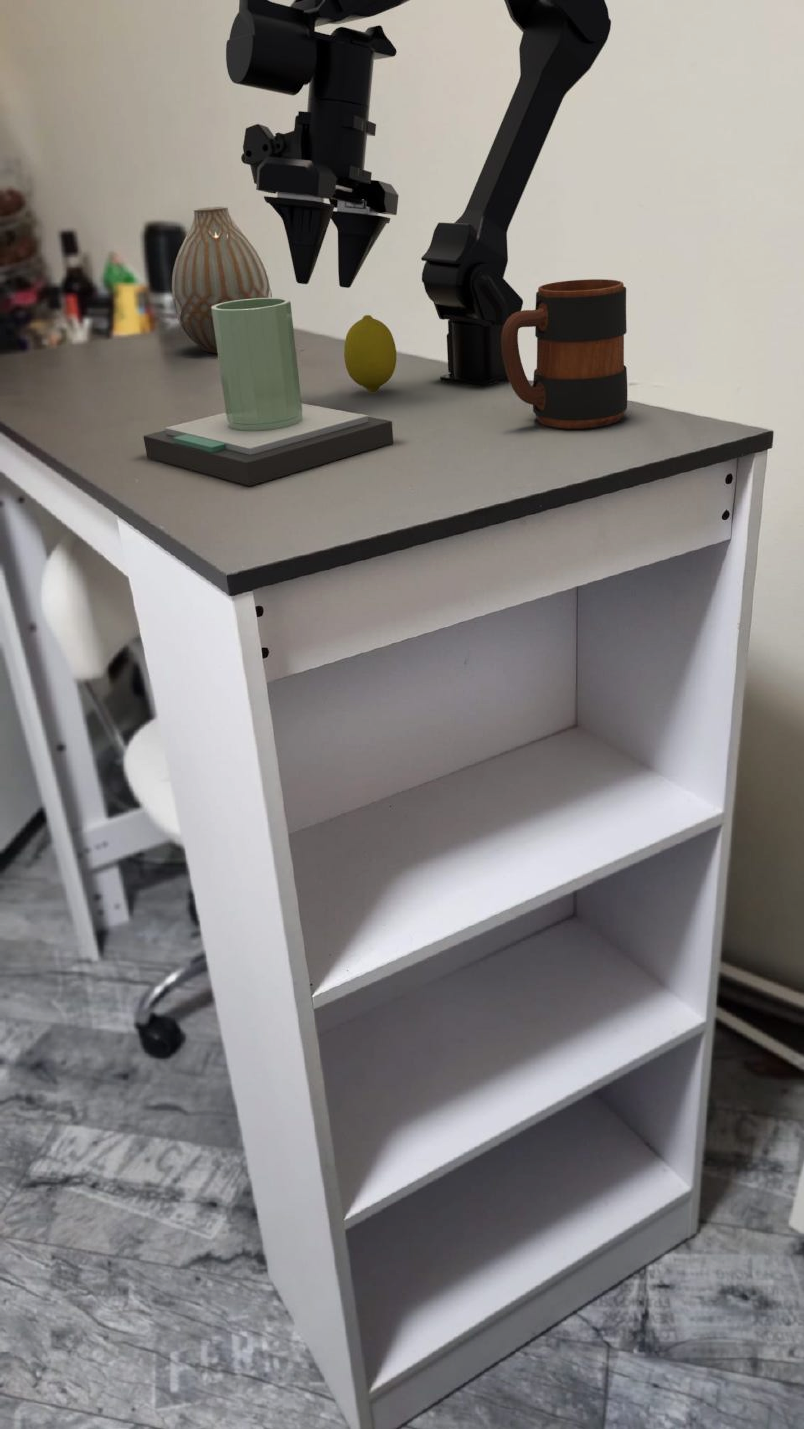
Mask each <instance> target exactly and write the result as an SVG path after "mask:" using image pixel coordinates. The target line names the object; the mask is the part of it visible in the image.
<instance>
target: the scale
mask: <svg viewBox="0 0 804 1429" xmlns="http://www.w3.org/2000/svg"><path fill="white" fill-rule="evenodd" d="M301 403H302V402H301ZM302 416H303V419H302V420H301V421H300V422H299V423H297V424H294V425H291V426H288V427H284V428H279V429H273V430H264V431H241V430H235V429H232V428H230V427H229V426H228V422H227V416H226V412H222V413H219V414H214V415H210V416H206V417H202V418H199V419H194V420H190V421H186V422H183V423H178V424H174V425H170V426H166V427H165V428H164V429H165V430H161V431H157V432H153V433H149V434H145V435H143V437H142V438H143V443H144V448H145V454H146V457H147V458H148V459H152V460H155V461H157V462H158V461H159V462H162V463H166V464H169V465H173V466H176V467H179V468H184V469H187V470H191V471H194V472H198V473H200V474H201V473H202V474H205V475H208V476H211V477H216V478H219V479H223V480H226V481H229V482H233V483H236V484H240V485H244V486H247V487H252V486H255V485H259V484H263V483H266V482H269V481H272V480H275V479H278V478H283V477H285V476H289V475H292V474H295V473H299V472H302V471H305V470H309V469H312V468H315V467H318V466H323V465H325V464H328V463H331V462H332V463H333V462H335V461H338V460H342V459H345V458H348V457H351V456H355V455H358V454H362V453H365V452H368V451H369V452H370V451H372V450H376V449H379V448H382V447H384V446H388V445H392V444H394V430H393V421H392V420H388V419H384V418H378V417H372V416H369V415H368V414H367V415H366V414H361V413H356V412H352V411H351V412H350V411H345V410H340V409H334V408H329V407H323V406H318V405H312V404H307V403H302Z"/></svg>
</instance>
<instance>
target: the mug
mask: <svg viewBox="0 0 804 1429" xmlns="http://www.w3.org/2000/svg"><path fill="white" fill-rule="evenodd" d="M534 308H535V309H523V310H521V311H519V312H516V313H514V314H512V315H511V316H510V317H509V318H508V319H507V321H506V322H505V324H504V327H503V331H502V338H501V346H502V356H503V361H504V366H505V370H506V373H507V376H508V379H507V380H508V382H509V384H510V386H511V389H512V390H513V392H514V393H515V395H516V396H517V397H518V398H519V399H520V401H522V402H524V403H526V404H528V405H532V412H533V413H534V414H535V416H536V419H537V421H538V422H539V423H540V424H542V425H543V426H546V427H550V428H555V429H564V430H565V429H566V430H581V429H594V428H602V427H605V426H609V425H612V424H615V423H617V422H619V421H620V420H621V419H622V417H623V415H624V412H626V411H627V409H628V372H627V371H628V368H627V366H626V365H625V335H626V334H627V333H628V332H627V287H626V286H625V285H624V282H623V281H620V280H616V279H606V278H605V279H603V278H602V279H601V278H596V279H595V278H592V279H591V278H590V279H589V278H588V279H572V280H571V279H570V280H564V281H563V280H562V281H554V282H550V283H545V284H542V285H540V286H538V289H537V291H536V293H535V307H534ZM521 328H535V329H534V330H535V332H534V336H535V337H536V368H535V369H534V370H533V380H532V385H531V383H530V381H529V380H528V377H527V375H526V373H525V370H524V366H523V363H522V359H521V354H520V348H519V329H521Z"/></svg>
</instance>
